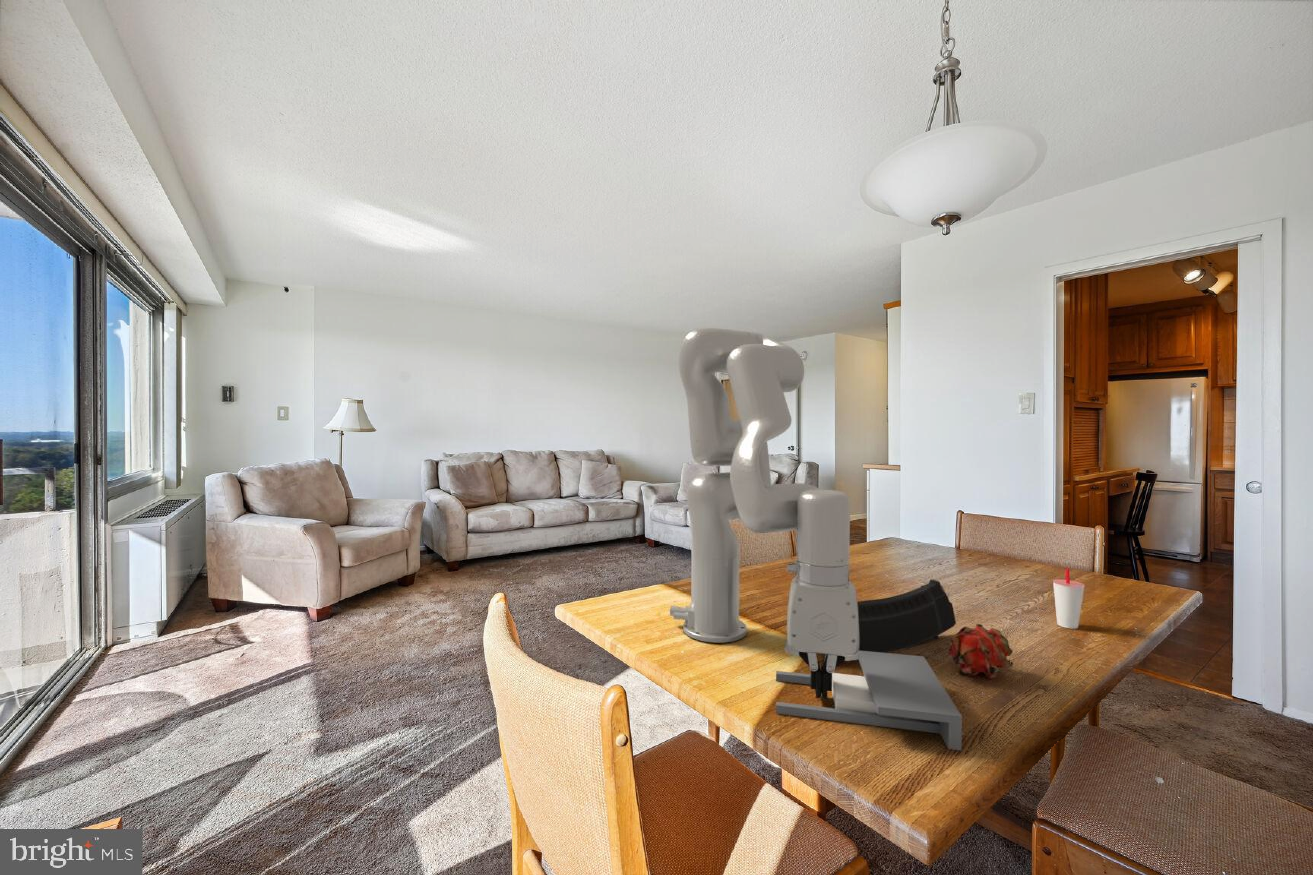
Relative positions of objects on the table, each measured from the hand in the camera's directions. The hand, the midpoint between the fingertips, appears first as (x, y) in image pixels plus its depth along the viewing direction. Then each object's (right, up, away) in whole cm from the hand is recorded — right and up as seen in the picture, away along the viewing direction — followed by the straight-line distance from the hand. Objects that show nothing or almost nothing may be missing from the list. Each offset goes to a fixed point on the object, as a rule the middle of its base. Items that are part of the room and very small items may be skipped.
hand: (820, 693), depth 80 cm
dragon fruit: (+29, -1, +9) cm, 30 cm away
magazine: (+19, -1, +19) cm, 27 cm away
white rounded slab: (+7, -1, -2) cm, 7 cm away
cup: (+61, -1, +31) cm, 68 cm away
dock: (+5, -1, -1) cm, 5 cm away
